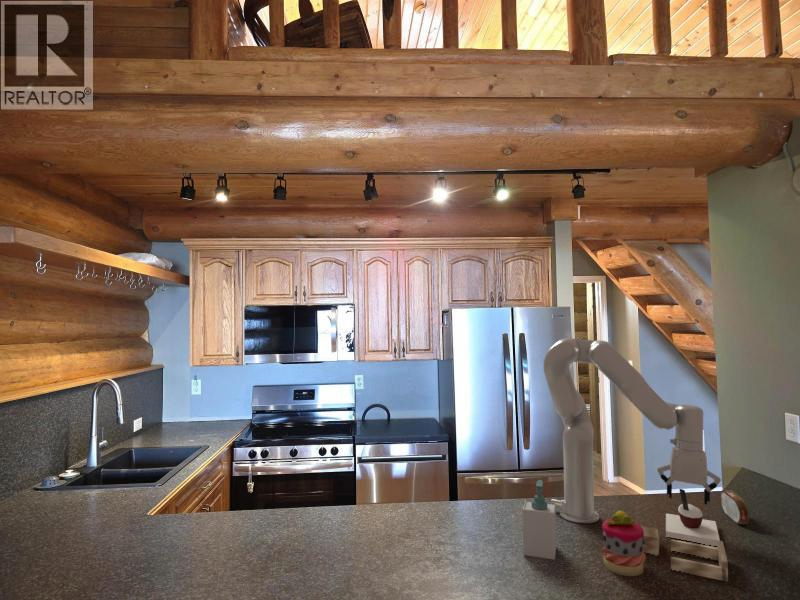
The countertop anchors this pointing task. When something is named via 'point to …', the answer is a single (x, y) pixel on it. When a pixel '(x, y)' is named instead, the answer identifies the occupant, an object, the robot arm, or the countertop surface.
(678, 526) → the cutting board
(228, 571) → the countertop surface
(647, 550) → the offcut lower
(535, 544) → the soap bottle
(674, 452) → the robot arm
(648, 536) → the offcut upper
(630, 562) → the cake
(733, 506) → the tin
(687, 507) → the cocoa
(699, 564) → the frame
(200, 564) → the countertop surface
